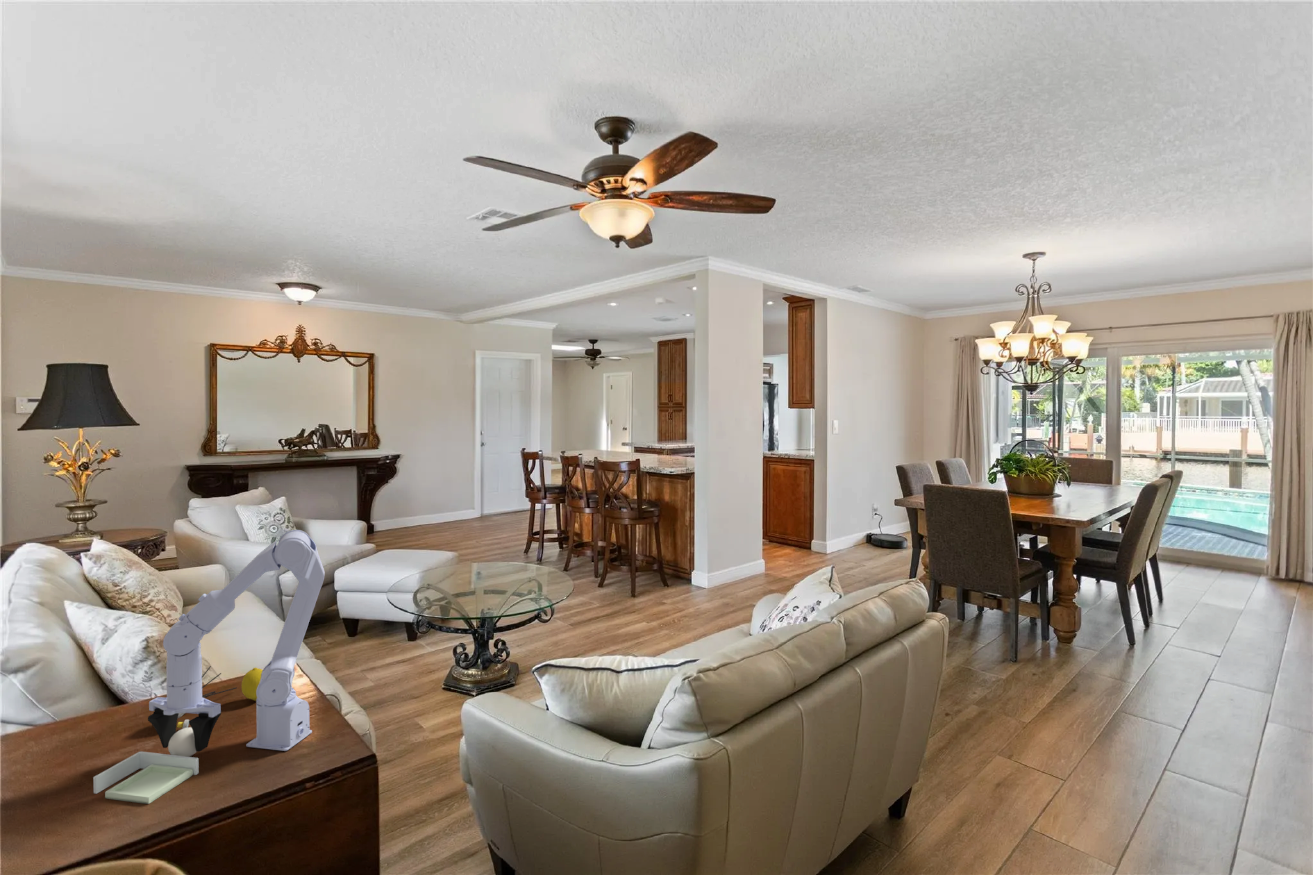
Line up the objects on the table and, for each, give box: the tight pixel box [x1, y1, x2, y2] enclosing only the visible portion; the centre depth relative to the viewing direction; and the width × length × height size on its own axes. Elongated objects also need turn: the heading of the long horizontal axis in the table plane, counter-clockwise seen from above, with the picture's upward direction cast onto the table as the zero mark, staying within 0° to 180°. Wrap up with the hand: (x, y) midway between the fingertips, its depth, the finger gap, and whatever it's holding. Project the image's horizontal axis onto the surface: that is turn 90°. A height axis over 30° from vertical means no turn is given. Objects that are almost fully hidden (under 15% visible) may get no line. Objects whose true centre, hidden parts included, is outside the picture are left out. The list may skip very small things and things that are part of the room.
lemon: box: [241, 667, 263, 702], centre depth 153 cm, size 6×6×8 cm
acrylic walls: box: [92, 750, 200, 794], centre depth 120 cm, size 13×9×3 cm
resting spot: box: [104, 764, 194, 805], centre depth 119 cm, size 9×9×1 cm
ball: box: [167, 726, 197, 757], centre depth 129 cm, size 6×6×6 cm
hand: (185, 747), depth 129 cm, fingers open, 7 cm apart
